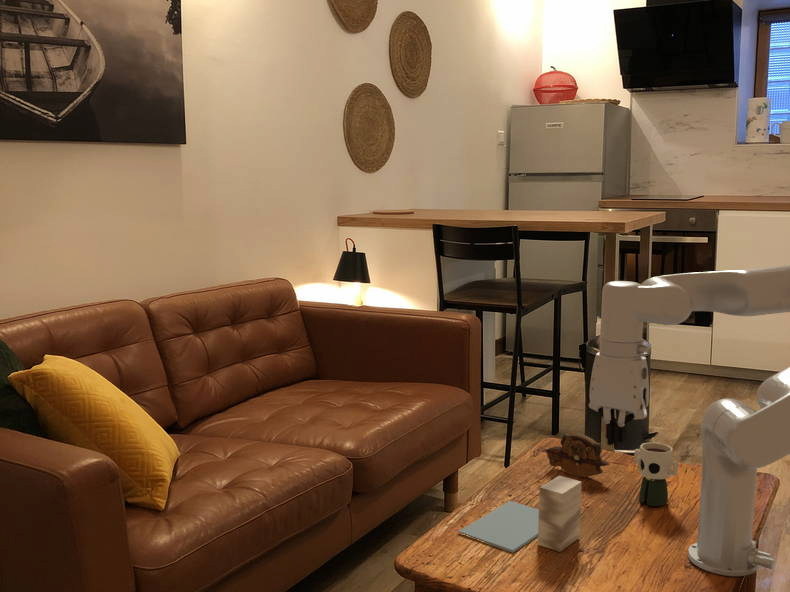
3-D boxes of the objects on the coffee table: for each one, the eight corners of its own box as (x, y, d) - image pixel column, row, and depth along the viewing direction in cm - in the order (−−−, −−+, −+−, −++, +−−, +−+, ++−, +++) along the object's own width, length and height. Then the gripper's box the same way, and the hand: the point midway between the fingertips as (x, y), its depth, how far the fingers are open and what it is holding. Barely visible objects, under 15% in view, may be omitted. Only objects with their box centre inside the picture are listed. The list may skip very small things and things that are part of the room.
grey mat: (562, 519, 175) (562, 516, 175) (513, 553, 159) (513, 550, 159) (509, 503, 183) (509, 500, 183) (458, 533, 168) (458, 531, 167)
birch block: (579, 538, 166) (581, 481, 164) (560, 553, 160) (562, 493, 158) (557, 531, 169) (559, 475, 167) (537, 545, 163) (539, 487, 161)
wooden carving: (541, 470, 203) (542, 431, 201) (549, 465, 206) (551, 427, 205) (604, 486, 193) (606, 445, 191) (612, 480, 197) (614, 440, 195)
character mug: (623, 499, 186) (626, 444, 183) (641, 491, 190) (644, 437, 188) (665, 515, 177) (668, 457, 175) (683, 506, 182) (687, 450, 179)
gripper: (668, 351, 149) (662, 447, 152) (591, 339, 158) (587, 430, 161) (652, 358, 143) (646, 458, 146) (573, 346, 153) (569, 440, 156)
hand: (615, 443), depth 154 cm, fingers closed
